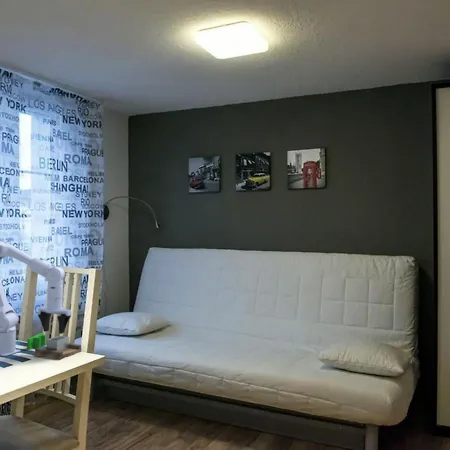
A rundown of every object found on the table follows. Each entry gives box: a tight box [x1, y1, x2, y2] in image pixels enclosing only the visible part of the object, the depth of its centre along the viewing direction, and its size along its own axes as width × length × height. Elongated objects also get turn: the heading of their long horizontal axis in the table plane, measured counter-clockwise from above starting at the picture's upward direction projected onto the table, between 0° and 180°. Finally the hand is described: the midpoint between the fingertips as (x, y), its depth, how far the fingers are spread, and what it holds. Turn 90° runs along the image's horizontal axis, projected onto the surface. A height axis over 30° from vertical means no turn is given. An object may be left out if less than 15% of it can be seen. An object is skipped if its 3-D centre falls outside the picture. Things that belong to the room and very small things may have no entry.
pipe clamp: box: [26, 332, 47, 351], centre depth 201 cm, size 11×4×5 cm, turn 173°
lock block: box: [46, 335, 70, 351], centre depth 190 cm, size 5×7×5 cm
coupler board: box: [33, 342, 82, 361], centre depth 191 cm, size 12×13×3 cm
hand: (54, 332), depth 190 cm, fingers open, 7 cm apart
